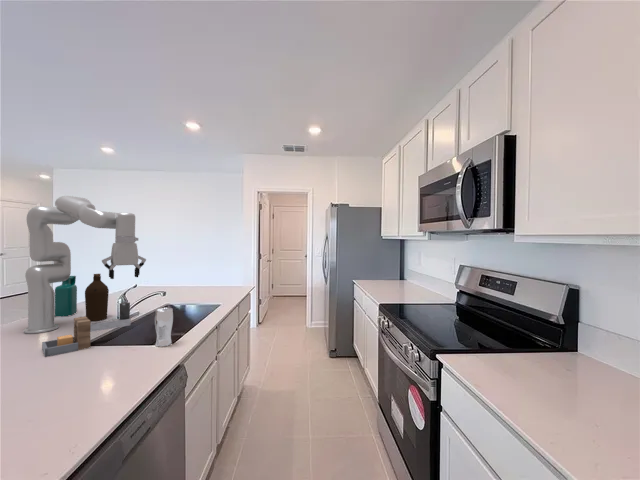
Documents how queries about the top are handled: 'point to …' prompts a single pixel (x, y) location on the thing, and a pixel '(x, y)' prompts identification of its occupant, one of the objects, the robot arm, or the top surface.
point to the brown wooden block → (82, 332)
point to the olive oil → (96, 299)
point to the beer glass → (163, 326)
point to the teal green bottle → (66, 297)
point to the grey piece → (122, 321)
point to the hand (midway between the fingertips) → (124, 277)
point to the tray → (57, 348)
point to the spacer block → (64, 340)
